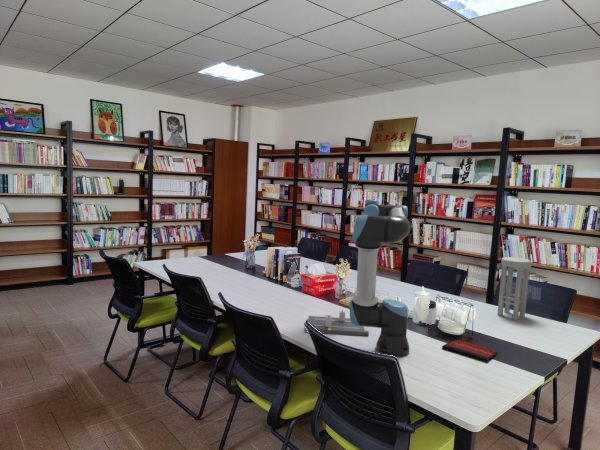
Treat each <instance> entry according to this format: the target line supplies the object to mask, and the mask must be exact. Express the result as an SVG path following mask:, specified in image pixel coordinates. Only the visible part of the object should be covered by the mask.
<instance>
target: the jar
mask: <svg viewBox="0 0 600 450" xmlns="http://www.w3.org/2000/svg"><path fill="white" fill-rule="evenodd" d="M429 300H430V304H429V305H430V306H429V314H428V315H427V324H429V325H428V326H431V325H432V324H433V325H434V324H436V322H437V319H436V318H437V308H436V307H437V302H436V301H435V300H431V299H429ZM427 324H426V325H427ZM433 325H432V326H433Z"/></svg>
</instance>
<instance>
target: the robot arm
mask: <svg viewBox="0 0 600 450" xmlns="http://www.w3.org/2000/svg"><path fill="white" fill-rule="evenodd" d="M408 212H409V209H408V206H406V205H402V204H400V205H398V204H397V205H395V204H394V205H393V204H380V203H379V200H378V199H366V200H365V201H364V209H363V215H362V214H360V215H357V216H356V217H355V220H354V222H355V223H354V227H353V233H352V239H351V241H352V242H354V245H355V247H356V248H357V250H358V253H357V254H358V255H357V269H356V270H357V272H356V273H357V274H356V293H355V295H353V297H352V299H351V300H349V307H348V308H349V318H350V320H351V323H352V324H353V325H356V326H365V327H368V328H377V329H380V334H379V336H378V339H377V341H376V346H375V347H376V348H375V350H376V351H377V352H378V353H380V354H382V355H384V354H387V355H393V356H396V357H395V358H397V357H399V358H400V357H405V356H408V355H409V354H410V344H409V341H408V338H407V331H408V317H409V313H408V312H409V308H408V306H407V304H406V303H404V302H403V301H400V300H396V299H392V298H386V299H383V300H382V301H381V302H379V299H378V297H377V296H376V286H377V270H378V269H377V268H378V256H379V255H378V254H379V249H381V248H382V246H383V245H382V244H395V243H398V242H401V241H402V240H404V239H405V238H407V236H408V235H409V234H410V232H411V223H410V221H409V219H408V216H409V215H408V214H409V213H408ZM387 355H386V356H387ZM393 356H392V357H393Z"/></svg>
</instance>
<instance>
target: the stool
mask: <svg viewBox="0 0 600 450" xmlns="http://www.w3.org/2000/svg"><path fill="white" fill-rule="evenodd" d="M531 268H532V261H531V260H530V259H527V258H522V257H514V256H506V257H505V256H504V257H502V258H501V272H500V275H501V276H500V284H499V294H498V295H499V296H498V303H497V305H498V306H497V316H504V313H506V314H509V313H510V310H511V306H513V313H512V320H515V321H518V320H519V317H521V318H524V317H526V307H527V298H528V287H529V279H530V278H529V277H530V269H531ZM514 269H517V271H516V281H515V283H516V284H515V293H512V291H513V290H512V288H513V280H514V279H513V278H514Z"/></svg>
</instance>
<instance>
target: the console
mask: <svg viewBox="0 0 600 450" xmlns="http://www.w3.org/2000/svg"><path fill="white" fill-rule="evenodd" d="M307 322H309V323H310V324H311V325H312V326H313V327H314V328H316V329H317V330H318V331H320V332H322V333H321V334H329V335H330V334H331V335H347V336H359V337H360V336H361V337H369V335H370V334H369V333H370V332H369V327H365V326H356V325H353V324H352V323H351V320H350V317H349V318H347V317H345V321H339V317H335V316H334V317H333V316H332V321H331V327H325V325H326V316H319V315H317V316H316V315H315V316H314V315H308V317H307V321H306V323H307ZM305 333H308V332H307V330H306V329H305Z"/></svg>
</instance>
